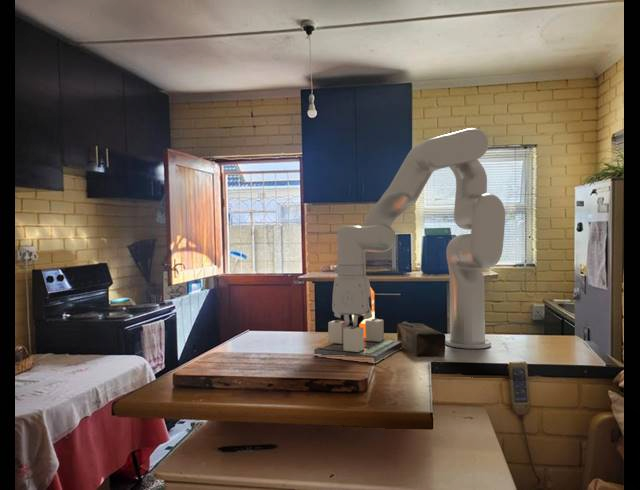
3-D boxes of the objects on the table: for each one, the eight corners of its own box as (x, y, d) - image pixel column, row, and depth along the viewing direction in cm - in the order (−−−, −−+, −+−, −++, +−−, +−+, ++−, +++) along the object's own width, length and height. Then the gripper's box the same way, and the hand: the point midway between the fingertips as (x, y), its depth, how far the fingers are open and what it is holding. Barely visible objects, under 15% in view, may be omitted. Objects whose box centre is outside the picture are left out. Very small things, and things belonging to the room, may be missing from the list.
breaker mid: (334, 340, 129) (334, 319, 129) (347, 341, 127) (347, 320, 127) (328, 342, 126) (328, 321, 126) (341, 343, 124) (341, 322, 124)
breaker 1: (349, 347, 119) (349, 325, 119) (363, 349, 117) (363, 326, 117) (343, 350, 116) (343, 327, 116) (358, 352, 114) (357, 328, 114)
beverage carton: (422, 342, 137) (422, 320, 137) (447, 358, 118) (446, 332, 118) (396, 343, 136) (396, 321, 136) (416, 359, 117) (416, 333, 117)
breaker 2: (370, 338, 131) (370, 317, 131) (383, 339, 129) (383, 318, 129) (365, 340, 128) (365, 319, 128) (379, 341, 126) (378, 320, 126)
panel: (346, 343, 136) (346, 335, 136) (401, 348, 128) (401, 340, 128) (314, 356, 119) (314, 347, 119) (375, 364, 111) (375, 354, 111)
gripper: (320, 272, 124) (322, 340, 124) (372, 272, 118) (374, 344, 117) (333, 270, 131) (334, 335, 131) (382, 270, 124) (384, 339, 124)
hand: (353, 339), depth 124 cm, fingers closed
